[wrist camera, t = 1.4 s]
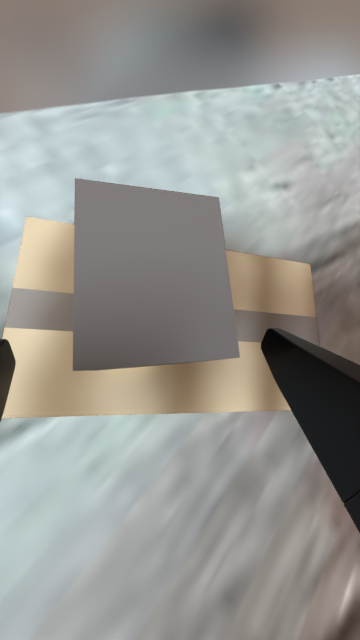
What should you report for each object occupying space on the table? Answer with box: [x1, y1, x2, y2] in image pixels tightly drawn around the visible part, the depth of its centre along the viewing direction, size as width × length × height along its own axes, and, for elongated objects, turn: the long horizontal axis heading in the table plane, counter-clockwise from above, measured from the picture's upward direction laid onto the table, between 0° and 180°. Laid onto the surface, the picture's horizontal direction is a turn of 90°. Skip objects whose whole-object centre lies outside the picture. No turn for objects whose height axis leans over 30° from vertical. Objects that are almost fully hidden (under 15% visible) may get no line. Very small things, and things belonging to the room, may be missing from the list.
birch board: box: [2, 217, 320, 418], centre depth 17 cm, size 22×12×3 cm, turn 89°
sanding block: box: [73, 178, 240, 371], centre depth 11 cm, size 6×5×8 cm
